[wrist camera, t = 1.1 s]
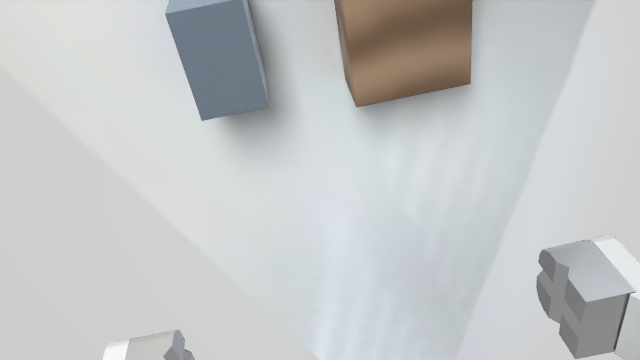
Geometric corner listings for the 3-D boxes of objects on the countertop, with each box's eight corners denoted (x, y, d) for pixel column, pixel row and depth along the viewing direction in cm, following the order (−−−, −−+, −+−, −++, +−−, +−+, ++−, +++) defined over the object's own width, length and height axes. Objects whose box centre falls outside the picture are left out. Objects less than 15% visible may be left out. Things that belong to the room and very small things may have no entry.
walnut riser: (324, -74, 36) (339, -51, 31) (447, -99, 37) (486, -81, 31) (345, 79, 44) (361, 120, 38) (448, 58, 44) (480, 95, 38)
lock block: (174, -14, 38) (165, 13, 33) (241, -27, 38) (242, -2, 33) (205, 84, 42) (201, 120, 38) (265, 72, 43) (268, 107, 38)
